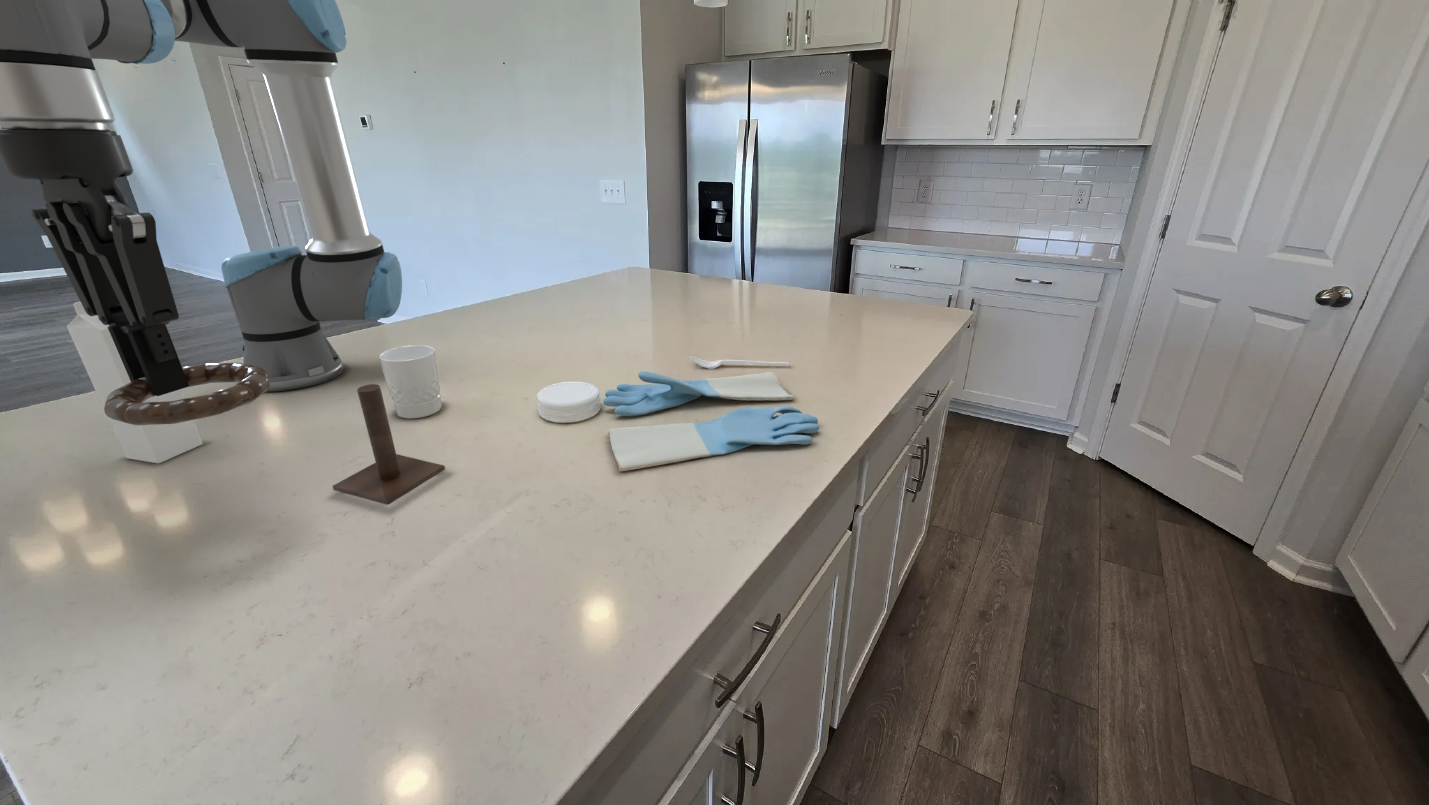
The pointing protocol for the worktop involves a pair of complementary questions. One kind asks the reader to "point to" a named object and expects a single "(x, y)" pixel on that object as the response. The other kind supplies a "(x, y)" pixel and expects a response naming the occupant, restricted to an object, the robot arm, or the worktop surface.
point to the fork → (733, 362)
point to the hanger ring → (131, 410)
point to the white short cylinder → (568, 402)
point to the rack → (384, 458)
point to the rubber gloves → (703, 437)
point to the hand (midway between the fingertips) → (162, 388)
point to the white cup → (412, 380)
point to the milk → (112, 375)
